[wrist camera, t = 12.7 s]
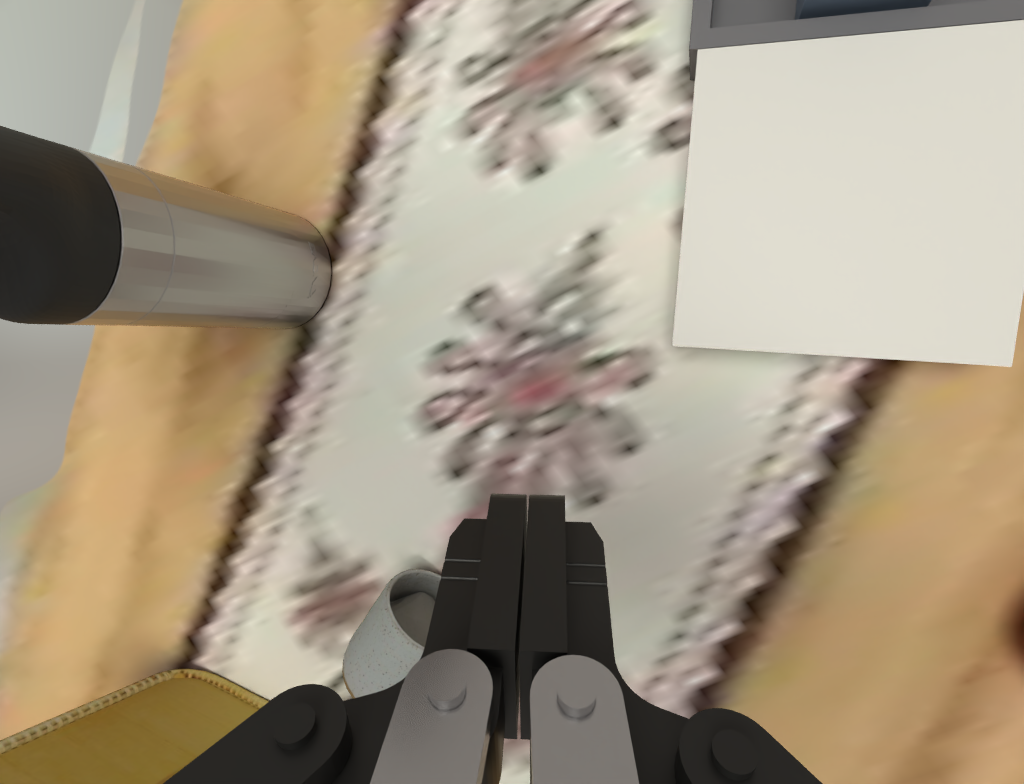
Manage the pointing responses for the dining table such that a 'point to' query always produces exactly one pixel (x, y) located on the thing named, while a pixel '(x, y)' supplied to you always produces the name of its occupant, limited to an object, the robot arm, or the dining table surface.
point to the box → (828, 21)
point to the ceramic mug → (391, 633)
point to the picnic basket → (130, 732)
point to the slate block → (851, 7)
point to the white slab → (858, 197)
